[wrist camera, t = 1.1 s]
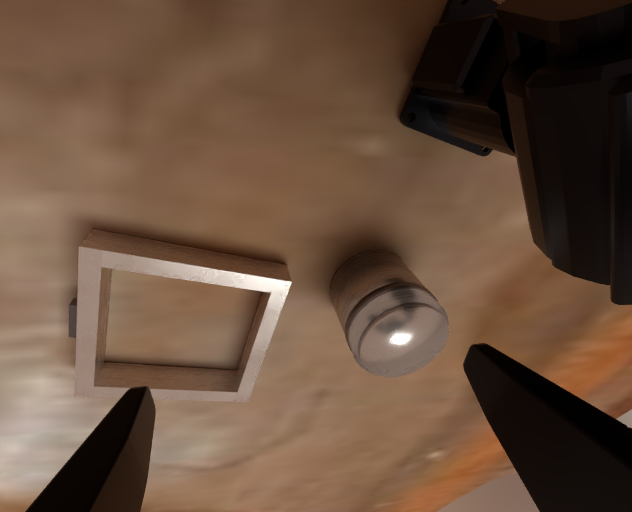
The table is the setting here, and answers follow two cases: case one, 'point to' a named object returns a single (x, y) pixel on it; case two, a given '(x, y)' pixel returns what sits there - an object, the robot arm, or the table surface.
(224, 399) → the grey square frame
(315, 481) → the table surface
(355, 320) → the piston
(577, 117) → the robot arm
